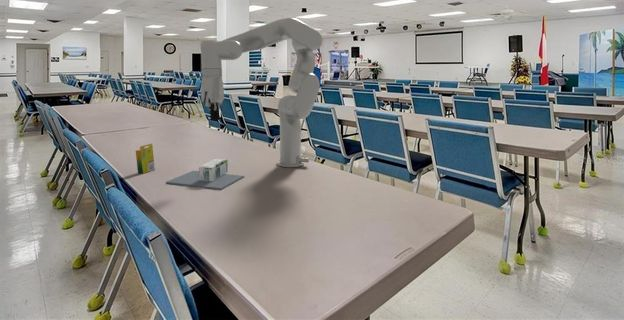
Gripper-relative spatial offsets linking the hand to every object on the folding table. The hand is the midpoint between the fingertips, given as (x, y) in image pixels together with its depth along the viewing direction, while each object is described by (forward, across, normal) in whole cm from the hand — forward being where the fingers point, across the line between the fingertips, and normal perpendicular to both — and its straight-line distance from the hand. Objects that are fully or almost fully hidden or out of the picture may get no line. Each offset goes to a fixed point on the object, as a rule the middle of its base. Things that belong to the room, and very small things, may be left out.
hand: (215, 120), depth 160 cm
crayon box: (+23, +5, -32) cm, 39 cm away
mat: (+23, +8, -1) cm, 24 cm away
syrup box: (+20, -3, 0) cm, 20 cm away
